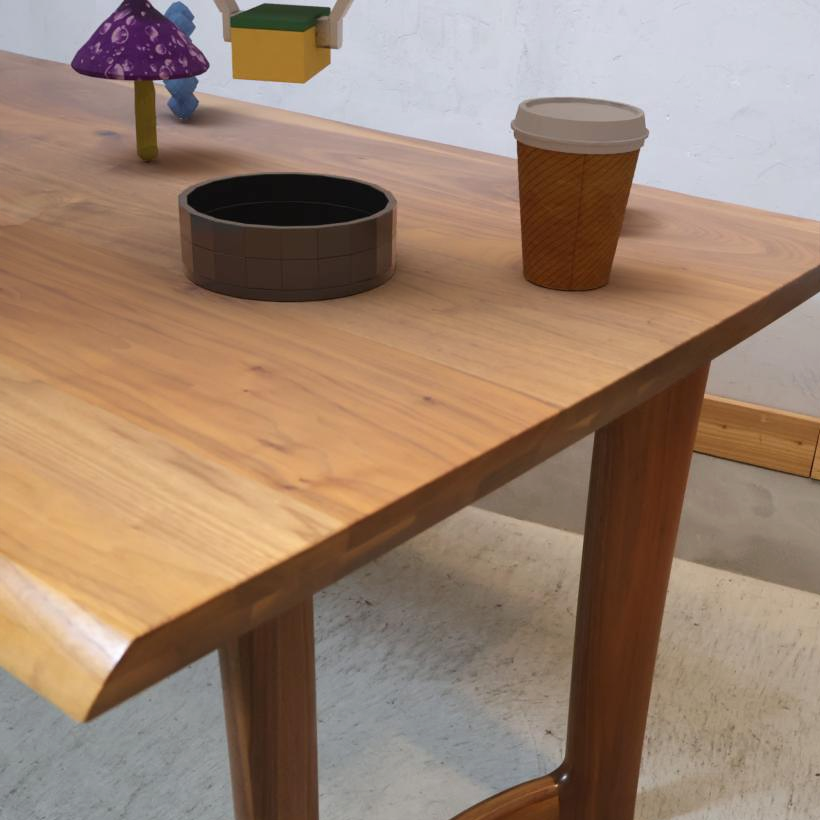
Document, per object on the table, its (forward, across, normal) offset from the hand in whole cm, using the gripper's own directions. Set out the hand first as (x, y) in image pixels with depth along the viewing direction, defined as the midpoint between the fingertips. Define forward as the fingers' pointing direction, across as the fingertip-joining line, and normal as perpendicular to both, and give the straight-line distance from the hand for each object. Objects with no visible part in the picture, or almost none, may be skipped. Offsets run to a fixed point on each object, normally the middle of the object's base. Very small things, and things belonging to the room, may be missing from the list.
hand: (282, 44), depth 73 cm
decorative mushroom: (+16, +21, -32) cm, 41 cm away
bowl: (+16, +1, -4) cm, 16 cm away
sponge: (+2, 0, 0) cm, 2 cm away
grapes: (+16, +25, -53) cm, 60 cm away
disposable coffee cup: (+16, -19, -6) cm, 26 cm away
